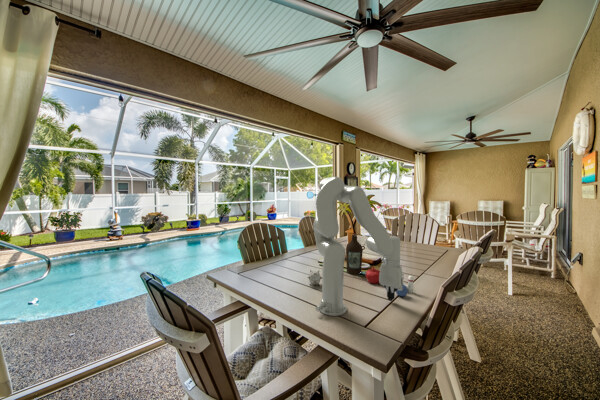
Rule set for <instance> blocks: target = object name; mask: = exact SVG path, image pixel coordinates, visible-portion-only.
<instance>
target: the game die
mask: <svg viewBox="0 0 600 400" xmlns="http://www.w3.org/2000/svg"><path fill="white" fill-rule="evenodd" d="M307 279H308V280H309V284H310V286H312V285H318V286H320V282H321V281H322V275H321V274H320V270H317V271H316V270H315V271H313V270H311V269H310V273H309V274H308V276H307Z"/></svg>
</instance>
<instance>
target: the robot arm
mask: <svg viewBox="0 0 600 400" xmlns="http://www.w3.org/2000/svg"><path fill="white" fill-rule="evenodd" d="M318 189H319V191H318V193H317V195H316V199H315V209H316V217H315V218H314V221H313V224H312V225H313V226H312V229H313V233H314V239H315V244H316V245H315V246H316V248H317V252H318V253H319V254H320V255H321V256H323V262H322V266H321V269H322V271H321V277H322V278H321V284H322V285H321V300H320V303H319V304H318V305H317V306H316V307H315V311H316V312H321V313H322V314H324V315H326V316H332V317H338V316H342V315H344V314H345V313H346V312H347V310H348V309H347V305H346V304H345V303H344V266H345V261H346V248H345V247H344V245H343V244H342V243H341V242H340V241H338V240H336V239H335V237H336V236H338V234H339V230H340V227H339V226H340V225H339V220H338V215H337V210H336V202H337V201H339V202H340V203H341V202H342V203H344V204H348V205H349V207H350V209H351V211H352V214H353V216H354V218H355V220H356V222H357V223H358V224H359V225H360V226H361V227H362V228H363V229H364V230H365V232H367V233H368V234H369V237H367V239H366V241H365V245H366V247H367V248H368V249H369V250H370V251H372V252H373V253H376V254H378V255H380V256H383V257H380V261H382V263H381V264H380V268H379V271H380V274H379V282H380V283H379V284H380V286H383V287H384V288H385V290H386V297H387V300H388V301H390V302H392V301H394V299H395V297H396V296H395V293H396V292H395V291H397V290H398V291H402V290H403V288H402V286H403V274H404V273H403V267H402V265H401V244H402V243H401V238H400V237H399V236H396V235H390V233H389V232H388V230H387V229H386V228H385V225H383V223H382V221H381V220H380V219H379V218H378V217H377V216H376V215H375V213H374V211H373V208H372V206H371V204H370V201H369V198H368V196H367V194H366V192H365V190H364V189H363V188H362V187H361V186H359V185H352V186H351V185H347V184H345V182H344V180H343V179H342V178H341V177H339V176H329V177H325V178H322V179H321V180H320V181H319V185H318Z"/></svg>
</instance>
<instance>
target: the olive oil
mask: <svg viewBox="0 0 600 400" xmlns="http://www.w3.org/2000/svg"><path fill="white" fill-rule="evenodd" d="M345 261H346V273H347V274H349V275H351V276H353V275H354V276H355V275H356V276H358V275H360V274H359V273H360V272H361V273H362V269H363V267H362V266H363V264H362V261H363V246H362V245H361V243H360V242H359V240H358V234H354V233H352V234H351V240H350V241H349V242H348V243H347V244H346V248H345Z"/></svg>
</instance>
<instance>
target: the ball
mask: <svg viewBox="0 0 600 400" xmlns="http://www.w3.org/2000/svg"><path fill="white" fill-rule="evenodd" d="M405 285H406V284H404V285H403V286H402V288H403V290H402V291H398V290H397V291H395V293H396V295H398V296H399V297H405V296H407V294H409V292H408V289H407V287H406V286H405Z"/></svg>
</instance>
